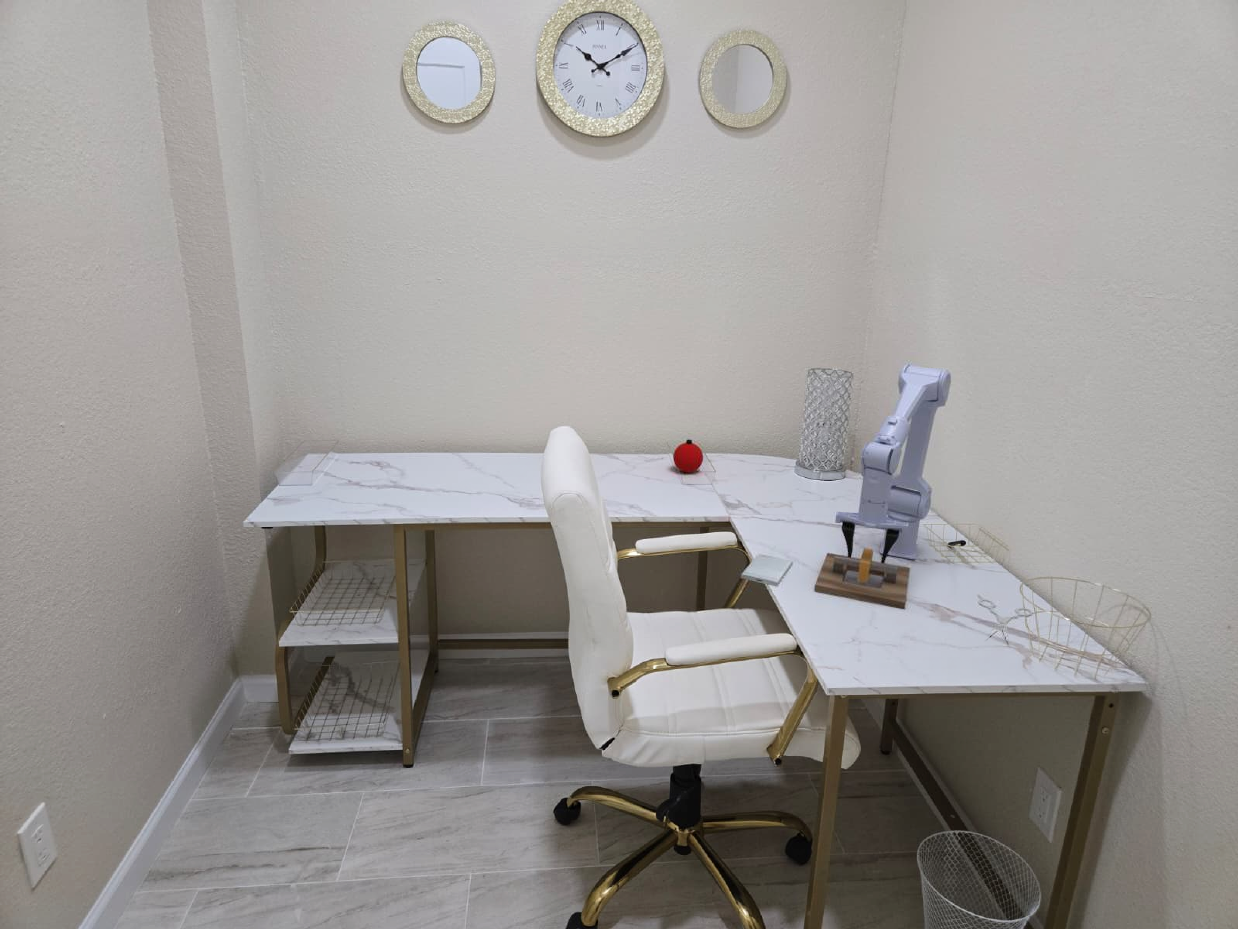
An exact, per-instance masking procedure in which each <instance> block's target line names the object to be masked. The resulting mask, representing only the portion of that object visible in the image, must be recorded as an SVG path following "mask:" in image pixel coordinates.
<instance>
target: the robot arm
mask: <svg viewBox="0 0 1238 929" xmlns="http://www.w3.org/2000/svg"><path fill="white" fill-rule="evenodd" d="M898 375H899V376H898V379H897V380H898V381H897V385H898V390H899V397H898V399H897V403H896V405H895V408H894V410H893V412H892V415H889V416H886V417H885V418H884V419H883V421H882V423H881V425H880V427H879V429H878V430H877V432H876V434H875V436H874V438H873V440H872V441H871V442H867V443H866V444H865V445H864V447H863V449H862V453H861V457H860V467H861V472H860V474H861V477H862V483H861V490H860V500H859V508H858V512H847V511H846V512H844V511H836V515H835V520H834V523H836V524H841V523H842V524H841V532H842V534H843V537H844V540H845V543H846V544H845V545H846V549H847V556H848V557H853V556H852V555H853V549H854V536H855V530H856V526H861V527H865V528H867V529H878V530H883V531H885V532H884V536H883V538H882V540H881V545H880V549H879V554H881V555H882V556H881V561H880V562H881V563H886V559H887V556H891V557H898V558H902V559H908V560H913V561H914V560H916V559H917V553H918V552H917V551H918V543H917V542H918V533H919V528H920V522H921V520H922V521H923V519H925V518H927V516H928V515H929V514H928V513H929V511H930V508H931V504H932V490H933V489H932V487H931V485H930V484H929V483H928V482H927V481H926V480H925V479H924V478H923V472H924V469H925V468H924V467H925V463H926V458H927V454H928V453H927V452H928V448H929V444H930V440H931V434H932V430H933V424H934V420H935V415H936V412H937V410H938V408H940V407H945V406H946V404H947V401H948V398H949V393H950V387H951V383H952V379H951V378H952V377H951V373H950V371H949V370H948V369H939V368H933V367H923V366H917V365H911V364H908V363H907V364H905V365H904V366H903V367H902V368H901V370H900V372H899V374H898ZM909 422H910V423H909ZM905 442H906V444H905ZM904 444H905V448H904V453H903V458H902V463H901V467H900V472H899V473H898V474H897V475H894V473H896V471H897V469H898V468H899V464H900V460H901V456H902V452H903V450H902V448H903V446H904Z"/></svg>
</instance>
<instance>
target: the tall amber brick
mask: <svg viewBox="0 0 1238 929" xmlns="http://www.w3.org/2000/svg"><path fill="white" fill-rule="evenodd" d="M873 555H874V549H873V548H866V547H863V550H862V554H861V557H860V559H861V560H860V565H859V572H858V575H857V582H862V583H868V582H869V581H868V580H869V575H870V574H869V571H870V569H869V568H870V564H871V562H872V561H873Z"/></svg>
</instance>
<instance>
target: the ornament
mask: <svg viewBox="0 0 1238 929" xmlns="http://www.w3.org/2000/svg"><path fill="white" fill-rule="evenodd" d="M672 459H673V463H674V465H675V467H676V468H677V469H678V470H679V471H681V472H684V473H693V472H695V471H697V470H698V469H699V468H700V467H701V466H702V464H703V462H704V454H703V451H702V449H701V447H699V445H697V444H695V443H694V442H693V440H692V439H690V438H689V439H686V440H685V442H683V443H681V444H679V445H678V446H677V447H676V448H675V450H674V451H673V458H672Z"/></svg>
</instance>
